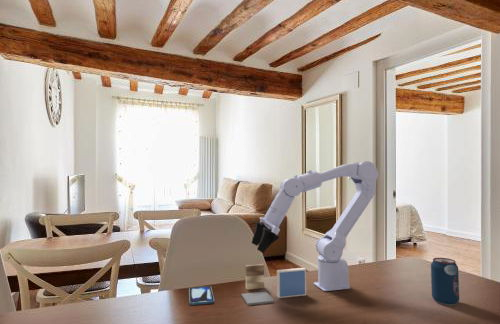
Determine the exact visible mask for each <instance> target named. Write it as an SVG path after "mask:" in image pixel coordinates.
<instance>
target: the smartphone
mask: <svg viewBox="0 0 500 324" xmlns="http://www.w3.org/2000/svg"><path fill="white" fill-rule="evenodd" d="M188 296H189V297H188V301H189V305H190V306H197V305H209V304H214V303H215V296H214V293H213V289H212V286H211V285H204V286H190V287H189V288H188Z"/></svg>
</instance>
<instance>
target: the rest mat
mask: <svg viewBox="0 0 500 324" xmlns="http://www.w3.org/2000/svg"><path fill="white" fill-rule="evenodd" d="M240 295H241V298H242V300H244V302H245V303H246V305H247V306H254V305H257V306H258V305H264V304H273V303H275V300H274V298H273V297H272V296H271V295H270V294H269V293H268V292H267V291H258V292H257V291H255V292H248V293H241V294H240Z"/></svg>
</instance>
